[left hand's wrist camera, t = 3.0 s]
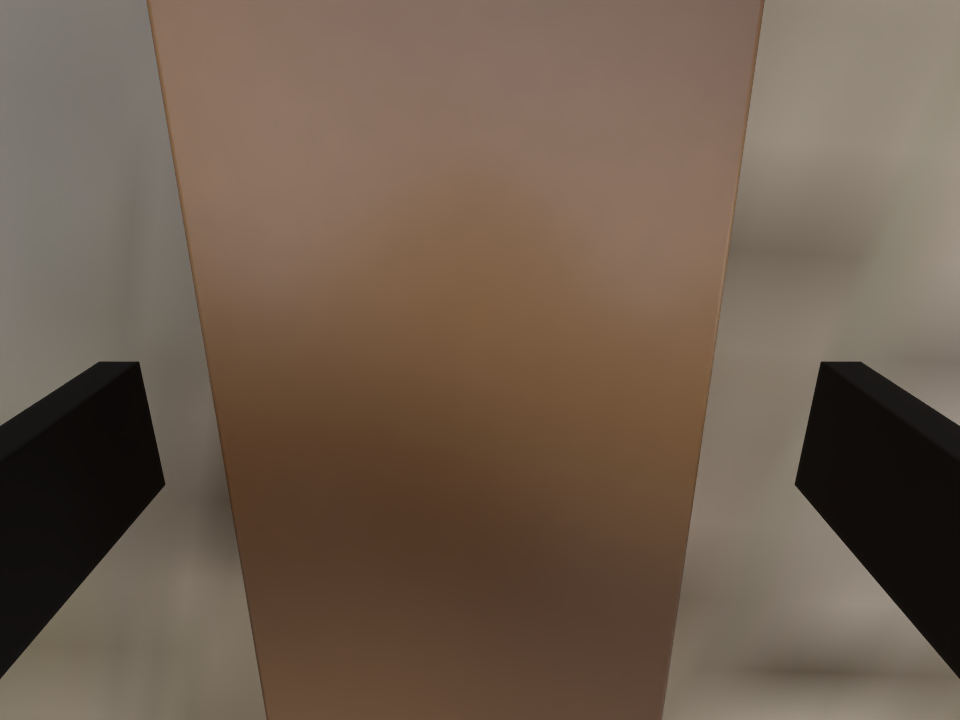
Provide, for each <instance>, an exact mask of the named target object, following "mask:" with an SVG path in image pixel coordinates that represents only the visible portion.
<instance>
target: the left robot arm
mask: <svg viewBox="0 0 960 720" xmlns="http://www.w3.org/2000/svg"><path fill="white" fill-rule="evenodd" d="M164 486H165V481H164V476H163V471H162V467H161V462H160V457H159V453H158V448H157V443H156V439H155V434H154V429H153V425H152V420H151V415H150V411H149V406H148V401H147V396H146V392H145V387H144V382H143V378H142V373H141V368H140V364H139V362H98V363H97V364H95V365H93V366H92V367H90V368H89V369H87V370H86V371H84V372H83V373H81V374H80V375H78V376H77V377H75V378H73V379H72V380H70V381H69V382H67V383H66V384H64V385H63V386H61V387H60V388H58V389H57V390H55V391H53V392H52V393H50V394H49V395H47V396H46V397H44V398H43V399H41V400H40V401H38V402H36V403H35V404H33V405H32V406H30V407H29V408H27V409H26V410H24V411H23V412H21V413H20V414H18V415H16V416H15V417H13V418H12V419H10V420H9V421H7V422H6V423H4V424H3V425H1V426H0V679H1V677H2V676H3V675H4V674H5V673H6V672H7V670H8V669H9V668H10V667H11V666H12V664H13V663H14V662H15V661H16V660H17V659H18V657H19V656H20V655H21V654H22V653H23V652H24V650H25V649H26V648H27V647H28V646H29V644H30V643H31V642H32V641H33V640H34V639H35V637H36V636H37V635H38V634H39V633H40V632H41V630H42V629H43V628H44V627H45V626H46V624H47V623H48V622H49V621H50V620H51V619H52V617H53V616H54V615H55V614H56V613H57V612H58V610H59V609H60V608H61V607H62V606H63V604H64V603H65V602H66V601H67V600H68V599H69V597H70V596H71V595H72V594H73V593H74V592H75V590H76V589H77V588H78V587H79V586H80V584H81V583H82V582H83V581H84V580H85V579H86V577H87V576H88V575H89V574H90V573H91V572H92V570H93V569H94V568H95V567H96V566H97V564H98V563H99V562H100V561H101V560H102V559H103V557H104V556H105V555H106V554H107V553H108V552H109V550H110V549H111V548H112V547H113V546H114V544H115V543H116V542H117V541H118V540H119V539H120V537H121V536H122V535H123V534H124V533H125V532H126V530H127V529H128V528H129V527H130V526H131V524H132V523H133V522H134V521H135V520H136V519H137V517H138V516H139V515H140V514H141V513H142V512H143V510H144V509H145V508H146V507H147V506H148V504H149V503H150V502H151V501H152V500H153V499H154V497H155V496H156V495H157V494H158V493H159V492H160V490H161V489H162V488H163V487H164ZM795 486H796V487H797V488H798V489H799V490H800V492H801V493H802V494H803V495H804V496H805V497H806V499H807V500H808V501H809V502H810V503H811V504H812V506H813V507H814V508H815V509H816V510H817V512H818V513H819V514H820V515H821V516H822V517H823V519H824V520H825V521H826V522H827V523H828V524H829V526H830V527H831V528H832V529H833V530H834V532H835V533H836V534H837V535H838V536H839V537H840V539H841V540H842V541H843V542H844V543H845V544H846V546H847V547H848V548H849V549H850V550H851V552H852V553H853V554H854V555H855V556H856V557H857V559H858V560H859V561H860V562H861V563H862V564H863V566H864V567H865V568H866V569H867V570H868V572H869V573H870V574H871V575H872V576H873V577H874V579H875V580H876V581H877V582H878V583H879V584H880V586H881V587H882V588H883V589H884V590H885V592H886V593H887V594H888V595H889V596H890V597H891V599H892V600H893V601H894V602H895V603H896V604H897V606H898V607H899V608H900V609H901V610H902V612H903V613H904V614H905V615H906V616H907V617H908V619H909V620H910V621H911V622H912V623H913V624H914V626H915V627H916V628H917V629H918V630H919V632H920V633H921V634H922V635H923V636H924V637H925V639H926V640H927V641H928V642H929V643H930V644H931V646H932V647H933V648H934V649H935V650H936V652H937V653H938V654H939V655H940V656H941V657H942V659H943V660H944V661H945V662H946V663H947V664H948V666H949V667H950V668H951V669H952V670H953V672H954V673H955V674H956V675H957V676H958V677H959V679H960V426H959V425H957V424H956V423H954V422H953V421H951V420H950V419H948V418H947V417H945V416H944V415H942V414H940V413H939V412H937V411H936V410H934V409H933V408H931V407H930V406H928V405H927V404H925V403H924V402H922V401H920V400H919V399H917V398H916V397H914V396H913V395H911V394H910V393H908V392H907V391H905V390H903V389H902V388H900V387H899V386H897V385H896V384H894V383H893V382H891V381H890V380H888V379H887V378H885V377H883V376H882V375H880V374H879V373H877V372H876V371H874V370H873V369H871V368H870V367H868V366H867V365H865V364H863V363H862V362H821V364H820V368H819V373H818V378H817V382H816V387H815V392H814V396H813V401H812V406H811V411H810V415H809V420H808V425H807V429H806V434H805V439H804V443H803V448H802V453H801V457H800V462H799V467H798V471H797V476H796V481H795Z"/></svg>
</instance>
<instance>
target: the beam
mask: <svg viewBox="0 0 960 720" xmlns="http://www.w3.org/2000/svg"><path fill="white" fill-rule="evenodd" d="M764 1H765V0H147V6H148V12H149V18H150V24H151V30H152V36H153V42H154V48H155V54H156V60H157V66H158V72H159V78H160V84H161V90H162V96H163V102H164V108H165V114H166V120H167V126H168V132H169V138H170V144H171V150H172V156H173V162H174V168H175V174H176V180H177V185H178V191H179V197H180V203H181V209H182V215H183V221H184V227H185V233H186V239H187V245H188V251H189V257H190V263H191V269H192V275H193V281H194V287H195V293H196V299H197V305H198V311H199V317H200V323H201V329H202V335H203V341H204V347H205V353H206V359H207V365H208V371H209V377H210V383H211V389H212V395H213V401H214V407H215V413H216V419H217V425H218V431H219V437H220V443H221V449H222V454H223V460H224V466H225V472H226V478H227V484H228V490H229V496H230V502H231V508H232V514H233V520H234V526H235V532H236V538H237V544H238V550H239V556H240V562H241V568H242V574H243V580H244V586H245V592H246V598H247V604H248V610H249V616H250V622H251V628H252V634H253V640H254V646H255V652H256V658H257V664H258V670H259V676H260V682H261V688H262V694H263V700H264V706H265V712H266V717H267V720H662V716H663V709H664V702H665V695H666V688H667V681H668V674H669V667H670V660H671V653H672V646H673V639H674V632H675V625H676V618H677V611H678V604H679V597H680V589H681V582H682V575H683V568H684V561H685V554H686V547H687V540H688V533H689V526H690V519H691V512H692V505H693V498H694V491H695V484H696V477H697V470H698V463H699V456H700V449H701V442H702V435H703V428H704V421H705V414H706V407H707V400H708V393H709V386H710V379H711V372H712V365H713V358H714V351H715V344H716V337H717V330H718V323H719V316H720V309H721V302H722V295H723V288H724V281H725V274H726V267H727V260H728V253H729V246H730V239H731V232H732V225H733V218H734V211H735V204H736V197H737V190H738V183H739V176H740V169H741V162H742V155H743V148H744V141H745V134H746V127H747V120H748V113H749V106H750V99H751V92H752V85H753V78H754V71H755V64H756V57H757V50H758V43H759V36H760V29H761V22H762V15H763V8H764Z"/></svg>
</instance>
